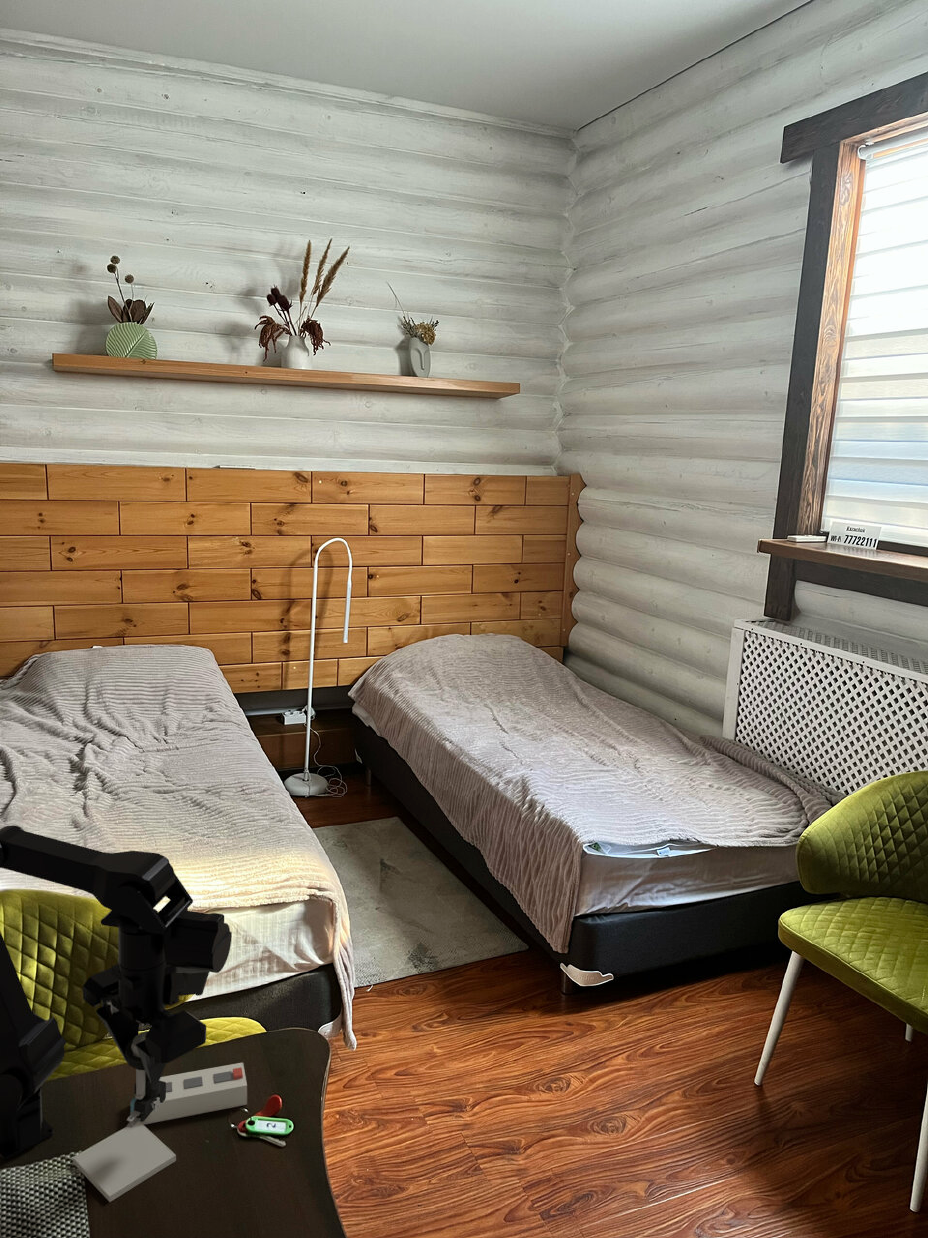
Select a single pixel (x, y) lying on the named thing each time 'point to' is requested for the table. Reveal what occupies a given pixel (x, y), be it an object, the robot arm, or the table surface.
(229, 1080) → the power strip
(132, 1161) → the rubber mat
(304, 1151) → the table surface
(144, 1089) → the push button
